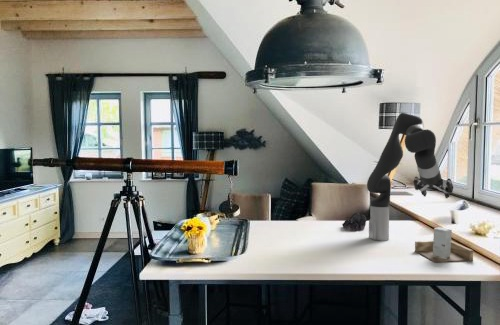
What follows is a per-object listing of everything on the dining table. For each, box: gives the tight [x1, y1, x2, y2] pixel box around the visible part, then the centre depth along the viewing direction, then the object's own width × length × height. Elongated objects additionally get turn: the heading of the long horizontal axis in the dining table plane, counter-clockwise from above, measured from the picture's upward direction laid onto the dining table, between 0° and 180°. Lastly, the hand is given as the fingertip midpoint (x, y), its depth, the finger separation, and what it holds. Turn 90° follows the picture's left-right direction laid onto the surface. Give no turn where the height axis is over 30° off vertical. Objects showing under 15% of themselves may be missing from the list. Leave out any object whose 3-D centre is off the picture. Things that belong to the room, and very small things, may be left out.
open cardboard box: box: [414, 240, 474, 264], centre depth 180 cm, size 17×17×5 cm
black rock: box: [341, 212, 368, 232], centre depth 234 cm, size 13×14×10 cm
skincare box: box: [432, 226, 452, 258], centre depth 178 cm, size 6×4×12 cm
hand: (436, 195), depth 169 cm, fingers open, 8 cm apart
